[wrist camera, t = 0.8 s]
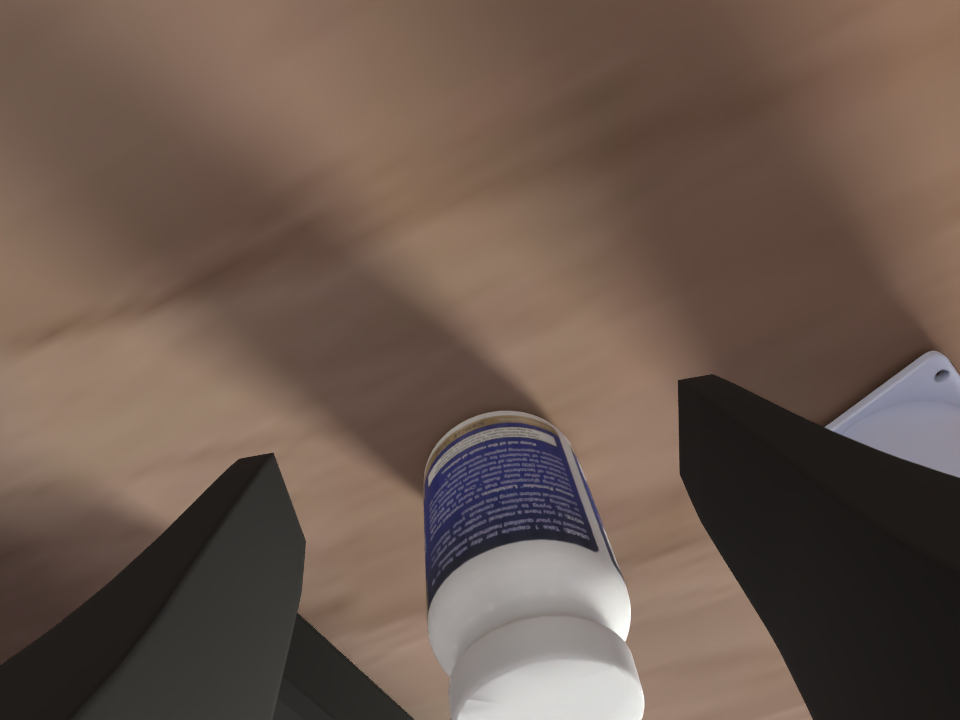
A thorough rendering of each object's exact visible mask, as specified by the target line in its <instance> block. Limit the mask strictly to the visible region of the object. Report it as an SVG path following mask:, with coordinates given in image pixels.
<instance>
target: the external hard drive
mask: <svg viewBox="0 0 960 720" xmlns="http://www.w3.org/2000/svg"><path fill="white" fill-rule="evenodd" d="M272 720H414V719H413V718H412V717H411V716H409V715H408V714H407V713H406V712H405V711H404V710H403V709H402V708H401V707H400V706H399V705H397V704H396V703H395V702H394V701H393V700H392V699H391V698H390V697H389V696H388V695H386V694H385V693H384V692H383V691H382V690H381V689H380V688H379V687H378V686H377V685H376V684H374V683H373V682H372V681H371V680H370V679H369V678H368V677H367V676H366V675H365V674H363V673H362V672H361V671H360V670H359V669H358V668H357V667H356V666H355V665H354V664H352V663H351V662H350V661H349V660H348V659H347V658H346V657H345V656H344V655H343V654H342V653H340V652H339V651H338V650H337V649H336V648H335V647H334V646H333V645H332V644H331V643H329V642H328V641H327V640H326V639H325V638H324V637H323V636H322V635H321V634H320V633H319V632H317V631H316V630H315V629H314V628H313V627H312V626H311V625H310V624H309V623H308V622H306V621H305V620H304V619H303V618H302V617H301V616H300V615H299V614H298V613H297V615H296V620H295V624H294V629H293V633H292V637H291V642H290V646H289V650H288V654H287V659H286V663H285V667H284V672H283V676H282V680H281V684H280V689H279V693H278V697H277V702H276V706H275V710H274V715H273V719H272Z"/></svg>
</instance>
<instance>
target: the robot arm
mask: <svg viewBox="0 0 960 720" xmlns="http://www.w3.org/2000/svg"><path fill="white" fill-rule="evenodd" d="M939 371H940V373H939V374H938V375H937V376H935V375H936V374H937V373H938V372H939ZM678 406H679V461H680V476H681V478H682V480H683V483H684V485H685V487H686V490H687V492H688V494H689V497H690V499H691V501H692V503H693V506H694V508H695V510H696V512H697V514H698V516H699V519H700V521H701V523H702V524H703V526H704V528H705V529H706V531H707V533H708V534H709V536H710V538H711V539H712V541H713V542H714V544H715V546H716V547H717V549H718V551H719V552H720V554H721V555H722V557H723V559H724V560H725V562H726V564H727V565H728V567H729V568H730V570H731V572H732V573H733V575H734V576H735V578H736V580H737V581H738V583H739V584H740V586H741V588H742V589H743V591H744V592H745V594H746V596H747V597H748V599H749V600H750V602H751V604H752V605H753V607H754V608H755V610H756V612H757V613H758V615H759V617H760V618H761V620H762V621H763V623H764V625H765V626H766V628H767V630H768V631H769V633H770V635H771V637H772V638H773V640H774V642H775V644H776V645H777V647H778V649H779V651H780V653H781V655H782V657H783V659H784V661H785V663H786V665H787V667H788V669H789V671H790V673H791V675H792V677H793V679H794V681H795V683H796V685H797V687H798V689H799V691H800V693H801V695H802V697H803V699H804V702H805V704H806V706H807V708H808V710H809V712H810V714H811V716H812V718H813V720H960V375H959V374H958V372H957V371H956V370H955V368H954V367H953V365H952V364H951V362H950V361H949V359H948V358H947V357H946V356H944V355H943V354H941V353H940V352H938V351H930V352H927V353H925V354H923V355H922V356H920V357H919V358H918V359H916V360H915V361H914V362H912V363H911V364H910V365H908V366H907V367H905V368H904V369H903V370H901V371H900V372H899V373H897V374H896V375H895V376H893V377H892V378H891V379H889V380H888V381H886V382H885V383H884V384H882V385H881V386H880V387H878V388H877V389H876V390H874V391H873V392H872V393H870V394H869V395H867V396H866V397H865V398H863V399H862V400H861V401H859V402H858V403H857V404H855V405H854V406H853V407H851V408H850V409H848V410H847V411H846V412H844V413H843V414H842V415H840V416H839V417H838V418H836V419H835V420H834V421H832V422H831V423H829V424H828V425H827V426H825V427H822V426H820V425H818V424H816V423H814V422H811V421H809V420H807V419H805V418H803V417H801V416H799V415H797V414H795V413H792V412H790V411H788V410H786V409H784V408H782V407H780V406H778V405H776V404H774V403H772V402H770V401H768V400H766V399H764V398H762V397H760V396H758V395H756V394H754V393H752V392H750V391H748V390H746V389H744V388H742V387H740V386H738V385H736V384H734V383H731V382H729V381H727V380H725V379H723V378H720V377H718V376H716V375H713V374H710V375H705V376H699V377H694V378H688V379H682V380H678ZM305 545H306V540H305V538H304V535H303V532H302V530H301V527H300V524H299V521H298V519H297V516H296V513H295V510H294V508H293V505H292V502H291V499H290V497H289V494H288V491H287V488H286V486H285V483H284V480H283V478H282V475H281V472H280V469H279V467H278V464H277V461H276V458H275V456H274V453H269V454H263V455H258V456H252V457H247V458H241V459H238V460H237V461H236V462H235V463H234V464H233V465H231V466H230V467H229V468H228V469H227V470H226V471H225V472H224V473H223V474H222V475H221V476H220V477H219V478H218V479H217V480H216V481H215V482H214V483H213V484H212V485H211V486H210V487H209V488H208V489H207V490H206V491H205V492H204V493H203V494H202V495H201V496H200V497H199V498H198V499H197V500H196V501H195V502H194V503H193V504H192V505H191V506H190V507H189V508H188V509H187V510H186V511H185V512H184V513H183V514H182V515H181V516H180V517H179V518H178V519H177V520H176V521H175V522H174V523H173V524H172V525H171V526H170V527H169V528H168V529H167V530H166V531H164V532H163V533H162V534H161V535H160V536H159V537H158V538H157V539H156V540H155V541H154V542H153V543H152V544H151V545H150V546H148V547H147V548H146V549H145V550H144V551H143V552H142V553H141V554H140V555H139V556H138V557H136V558H135V559H134V560H133V561H132V562H131V563H130V564H129V565H128V566H127V567H126V568H124V569H123V570H122V571H121V572H120V573H119V574H118V575H117V576H116V577H115V578H114V579H112V580H111V581H110V582H109V583H108V584H107V585H105V586H104V587H103V588H102V589H101V590H100V591H98V592H97V593H96V594H95V595H94V596H92V597H91V598H90V599H89V600H88V601H86V602H85V603H84V604H83V605H81V606H80V607H79V608H78V609H76V610H75V611H74V612H72V613H71V614H70V615H69V616H67V617H66V618H65V619H64V620H62V621H61V622H60V623H58V624H57V625H56V626H55V627H53V628H52V629H51V630H49V631H48V632H47V633H45V634H44V635H43V636H41V637H40V638H39V639H37V640H36V641H34V642H33V643H32V644H30V645H29V646H27V647H26V648H24V649H23V650H21V651H20V652H19V653H17V654H16V655H14V656H13V657H11V658H10V659H9V660H7V661H6V662H4V663H3V664H1V665H0V720H272V719H273V715H274V710H275V706H276V702H277V697H278V693H279V689H280V684H281V680H282V676H283V672H284V667H285V663H286V659H287V654H288V650H289V646H290V642H291V637H292V633H293V629H294V624H295V620H296V615H297V611H298V606H299V601H300V597H301V591H302V581H303V571H304V558H305Z"/></svg>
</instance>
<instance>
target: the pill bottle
mask: <svg viewBox="0 0 960 720" xmlns="http://www.w3.org/2000/svg"><path fill="white" fill-rule="evenodd" d="M423 495H424V529H425V564H426V602H427V625H428V634H429V640H430V644H431V647H432V650H433V653H434V655H435V657H436V659H437V660H438V662H439V664H440V665H441V667H442V668H443V669H444V671H445V672H446V673H447V674H448V675H449V676H450V680H449V706H450V717H451V720H641V719H642V716H643V711H644V695H643V691H642V687H641V683H640V680H639V677H638V674H637V671H636V667H635V664H634V660H633V657H632V654H631V651H630V649H629V647H628V646H627V644H626V643H625V641H626V638H627V635H628V631H629V627H630V621H631V607H630V599H629V595H628V591H627V588H626V585H625V582H624V579H623V576H622V574H621V571H620V569H619V566H618V564H617V561H616V558H615V556H614V553H613V551H612V548H611V545H610V543H609V540H608V537H607V535H606V532H605V529H604V527H603V524H602V521H601V519H600V516H599V514H598V511H597V508H596V506H595V503H594V500H593V498H592V495H591V492H590V489H589V487H588V484H587V481H586V479H585V476H584V473H583V471H582V468H581V466H580V463H579V460H578V458H577V456H576V453H575V451H574V449H573V447H572V445H571V444H570V442H569V440H568V439H567V438H566V437H565V435H564V434H563V433H562V432H561V431H560V430H559V429H557V428H556V427H555V426H554V425H552V424H551V423H549V422H548V421H546V420H544V419H542V418H540V417H538V416H535V415H532V414H528V413H524V412H518V411H494V412H488V413H484V414H480V415H477V416H475V417H472V418H470V419H467V420H465V421H463V422H462V423H460V424H458V425H457V426H455V427H454V428H452V429H451V430H450V431H448V432H447V433H446V434H445V435H444V436H443V437H442V438H441V439H440V441H439V442H438V443H437V444H436V446H435V447H434V449H433V450H432V452H431V454H430V456H429V459H428V461H427V464H426V468H425V472H424V486H423Z"/></svg>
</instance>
